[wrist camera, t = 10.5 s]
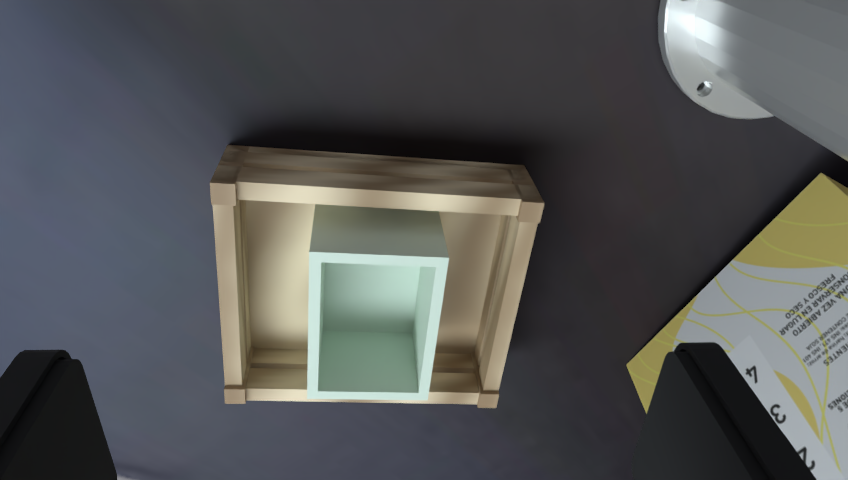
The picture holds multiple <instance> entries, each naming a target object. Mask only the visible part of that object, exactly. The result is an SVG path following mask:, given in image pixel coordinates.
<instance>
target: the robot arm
mask: <svg viewBox="0 0 848 480" xmlns="http://www.w3.org/2000/svg"><path fill="white" fill-rule="evenodd" d="M658 41H659V45H660V49H661V54H662V58H663V62H664V64H665V66H666V68H667V70H668V72H669V74H670V76H671V78H672V80H673V81H674V82H675V83H676V85H677V86H678V87H679V88H680V89H681V91H682V92H683V93H684V94H685V95H687V96H688V97H689V98H691V99H692V100H693V101H694V102H696V103H697V104H699V105H700V106H702V107H704V108H706V109H707V110H709V111H711V112H713V113H716V114H719V115H723V116H726V117H729V118H738V119H758V118H768V117H773V116H776V117H777V118H779V119H781V120H782V121H784V122H785V123H787V124H789V125H790V126H792V127H793V128H795V129H797V130H798V131H800V132H802V133H803V134H805V135H806V136H808V137H810V138H811V139H813V140H814V141H816V142H818V143H819V144H821V145H822V146H824V147H826V148H827V149H829V150H831V151H832V152H834V153H835V154H837V155H839V156H840V157H842V158H843V159H845V160H847V161H848V0H661V1H660V7H659V14H658ZM699 84H700V86H699ZM698 86H699V87H698ZM697 87H698V88H697ZM632 474H633V479H634V480H817V479H816V478H815V476H814V475H813V474H812V472H811V471H810V469H809V468H808V467H807V465H806V464H805V462H804V461H803V460H802V458H801V457H800V455H799V454H798V453H797V451H796V450H795V448H794V447H793V446H792V444H791V443H790V441H789V440H788V439H787V437H786V436H785V435H784V434H783V432H782V431H781V429H780V428H779V427H778V425H777V424H776V422H775V421H774V420H773V418H772V417H771V415H770V414H769V413H768V411H767V410H766V408H765V407H764V406H763V404H762V403H761V401H760V400H759V399H758V397H757V396H756V394H755V393H754V392H753V390H752V389H751V387H750V386H749V385H748V383H747V382H746V380H745V379H744V378H743V376H742V375H741V373H740V372H739V371H738V369H737V368H736V366H735V365H734V364H733V362H732V361H731V359H730V358H729V357H728V355H727V354H726V352H725V351H724V350H723V348H722V347H721V346H720V345H719V344H717V343H715V342H692V343H679V344H678V345H677V346H676V348H675V350H674V352H668V353H667V354H666V356H665V358H664V361H663V365H662V368H661V371H660V374H659V377H658V380H657V383H656V386H655V389H654V393H653V396H652V399H651V402H650V405H649V408H648V411H647V414H646V417H645V421H644V424H643V427H642V430H641V433H640V436H639V439H638V442H637V445H636V449H635V452H634V455H633V458H632ZM0 480H117V474H116V470H115V467H114V463H113V460H112V457H111V454H110V451H109V448H108V445H107V441H106V438H105V435H104V432H103V429H102V426H101V423H100V419H99V416H98V413H97V410H96V407H95V404H94V400H93V397H92V394H91V391H90V388H89V385H88V382H87V378H86V375H85V372H84V369H83V366H82V364H81V362H80V361H79V360H77V359H71V357H70V355H69V353H68V352H66V351H65V350H24V351H22V352H20V353H19V354H18V355H17V356H16V357H15V358H14V360H13V361H12V362H11V364H10V365H9V367H8V368H7V369H6V371H5V372H4V374H3V375H2V376H1V378H0Z"/></svg>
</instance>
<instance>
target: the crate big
mask: <svg viewBox="0 0 848 480" xmlns="http://www.w3.org/2000/svg"><path fill="white" fill-rule="evenodd" d="M210 192H211V204H212V205H213V215H214V230H215V245H216V260H217V274H218V289H219V304H220V319H221V333H222V348H223V363H224V378H225V388H224V395H225V404H245V403H246V400H256V401H315V402H374V403H432V404H477V406H478V408H496V406H497V402H498V397H499V392H498V390H499V386H500V382H501V378H502V373H503V369H504V365H505V361H506V356H507V352H508V348H509V344H510V339H511V335H512V331H513V327H514V322H515V318H516V314H517V310H518V305H519V301H520V297H521V293H522V288H523V284H524V280H525V276H526V271H527V267H528V263H529V259H530V254H531V250H532V246H533V242H534V237H535V233H536V229H537V225H538V223H540V220H541V216H542V212H543V208H544V201H543V199H542V198H541V196H540V194H539V192H538V190H537V188H536V186H535V184H534V183H533V181H532V179H531V177H530V175H529V173H528V171H527V170H526V168H525V166H524V165H513V164H498V163H484V162H469V161H455V160H441V159H426V158H412V157H397V156H383V155H368V154H354V153H339V152H325V151H310V150H296V149H281V148H267V147H252V146H238V145H227V147H226V149H225V151H224V154H223V156H222V158H221V160H220V162H219V164H218V166H217V169H216V171H215V173H214V175H213V177H212V179H211V181H210ZM315 204H322V205H339V206H357V207H374V208H391V209H408V210H426V211H439V215H440V219H441V224H442V228H443V233H444V237H445V242H446V246H447V251H448V255H449V262H448V268H447V275H446V282H445V288H444V295H443V302H442V308H441V315H440V322H439V328H438V335H437V342H436V348H435V355H434V362H433V368H432V375H431V382H430V388H429V395H428V400H357V399H307V371H308V301H309V250H310V242H311V234H312V227H313V219H314V211H315Z"/></svg>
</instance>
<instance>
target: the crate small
mask: <svg viewBox="0 0 848 480" xmlns="http://www.w3.org/2000/svg"><path fill="white" fill-rule="evenodd" d="M448 262H449V255H448V251H447V246H446V242H445V237H444V233H443V228H442V224H441V219H440V215H439V211H426V210H408V209H391V208H374V207H357V206H339V205H322V204H315V211H314V219H313V227H312V234H311V242H310V250H309V301H308V371H307V399H357V400H428V395H429V388H430V382H431V375H432V368H433V362H434V355H435V348H436V342H437V335H438V328H439V322H440V315H441V308H442V302H443V295H444V288H445V282H446V275H447V268H448Z"/></svg>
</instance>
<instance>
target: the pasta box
mask: <svg viewBox="0 0 848 480" xmlns="http://www.w3.org/2000/svg"><path fill="white" fill-rule="evenodd" d="M692 342H715V343H717V344H719V345H720V346H721V347H722V348H723V350H724V351H725V352H726V354H727V355H728V357H729V358H730V359H731V361H732V362H733V364H734V365H735V366H736V368H737V369H738V371H739V372H740V373H741V375H742V376H743V378H744V379H745V380H746V382H747V383H748V385H749V386H750V387H751V389H752V390H753V392H754V393H755V394H756V396H757V397H758V399H759V400H760V401H761V403H762V404H763V406H764V407H765V408H766V410H767V411H768V413H769V414H770V415H771V417H772V418H773V420H774V421H775V422H776V424H777V425H778V427H779V428H780V429H781V431H782V432H783V434H784V435H785V436H786V437H787V439H788V440H789V441H790V443H791V444H792V446H793V447H794V448H795V450H796V451H797V453H798V454H799V455H800V457H801V458H802V460H803V461H804V462H805V464H806V465H807V467H808V468H809V469H810V471H811V472H812V474H813V475H814V476H815V478H816V479H817V480H848V188H847V187H845V186H843V185H842V184H840V183H838V182H836V181H835V180H833V179H831V178H830V177H828V176H826V175H824V174H823V173H820V174H819V175H818V176H817V177H816V178H815V179H814V180H813V181H812V182H811V183H810V184H809V185H808V186H807V187H806V188H805V189H804V190H803V191H802V192H801V193H800V194H799V195H798V196H797V197H796V198H795V199H794V200H793V201H792V202H791V203H790V204H789V205H788V206H787V207H786V208H785V209H784V210H783V211H782V212H781V213H780V214H779V215H778V216H777V217H776V218H775V219H774V220H772V221H771V222H770V223H769V224H768V225H767V226H766V227H765V228H764V229H763V230H762V231H761V232H760V233H759V234H758V235H757V236H756V237H755V238H754V239H753V240H752V241H751V242H750V243H749V244H748V245H747V246H746V247H745V248H744V249H743V250H742V251H741V252H740V253H739V254H738V255H737V256H736V257H735V258H734V259H733V260H732V261H731V262H730V263H729V264H728V265H727V266H726V267H725V268H724V269H723V270H722V271H721V272H720V273H719V274H718V275H717V276H716V277H715V278H714V279H713V280H712V281H711V282H710V283H709V284H708V285H707V286H706V287H705V288H704V289H703V290H702V291H701V292H699V293H698V294H697V295H696V296H695V297H694V298H693V299H692V300H691V301H690V302H689V303H688V304H687V305H686V306H685V307H684V308H683V309H682V310H681V311H680V312H679V313H678V314H677V315H676V316H675V317H674V318H673V319H672V320H671V321H670V322H669V323H668V324H667V325H666V326H665V327H664V328H663V329H662V330H661V331H660V332H659V333H658V334H657V335H656V336H655V337H654V338H653V339H652V340H651V341H650V342H649V343H648V344H647V345H646V346H645V347H644V348H643V349H642V350H641V351H640V352H639V353H638V354H637V355H636V356H635V357H634V358H633V359H632V360H631V361H630V362H629V363H628V364H627V368H628V370H629V373H630V375H631V377H632V380H633V382H634V385H635V387H636V390H637V392H638V394H639V397H640V399H641V402H642V404H643V407H644V409H645V411H646V414H647V411H648V408H649V405H650V402H651V399H652V396H653V393H654V389H655V386H656V383H657V380H658V377H659V374H660V371H661V368H662V365H663V361H664V358H665V356H666V354H667V353H668V352H674V350H675V348H676V346H677V345H678V344H679V343H692Z"/></svg>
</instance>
